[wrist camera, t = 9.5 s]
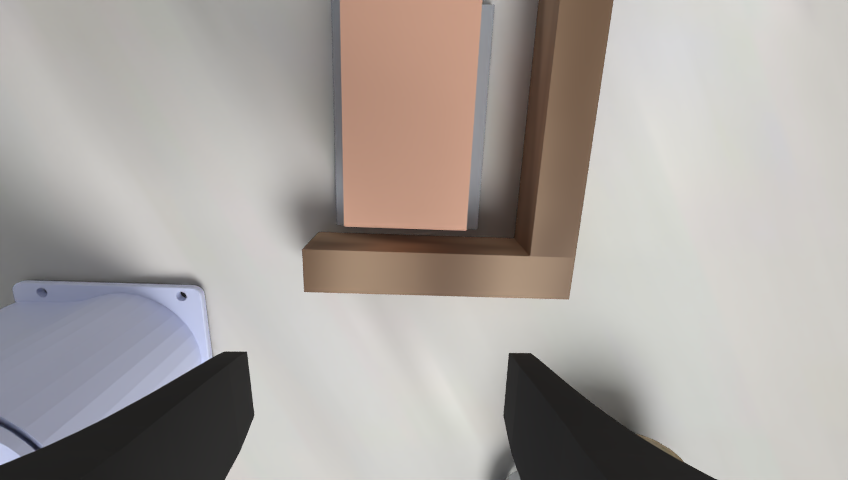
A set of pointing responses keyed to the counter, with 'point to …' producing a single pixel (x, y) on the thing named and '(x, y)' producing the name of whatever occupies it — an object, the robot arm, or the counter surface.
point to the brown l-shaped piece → (538, 193)
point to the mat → (479, 113)
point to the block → (408, 111)
